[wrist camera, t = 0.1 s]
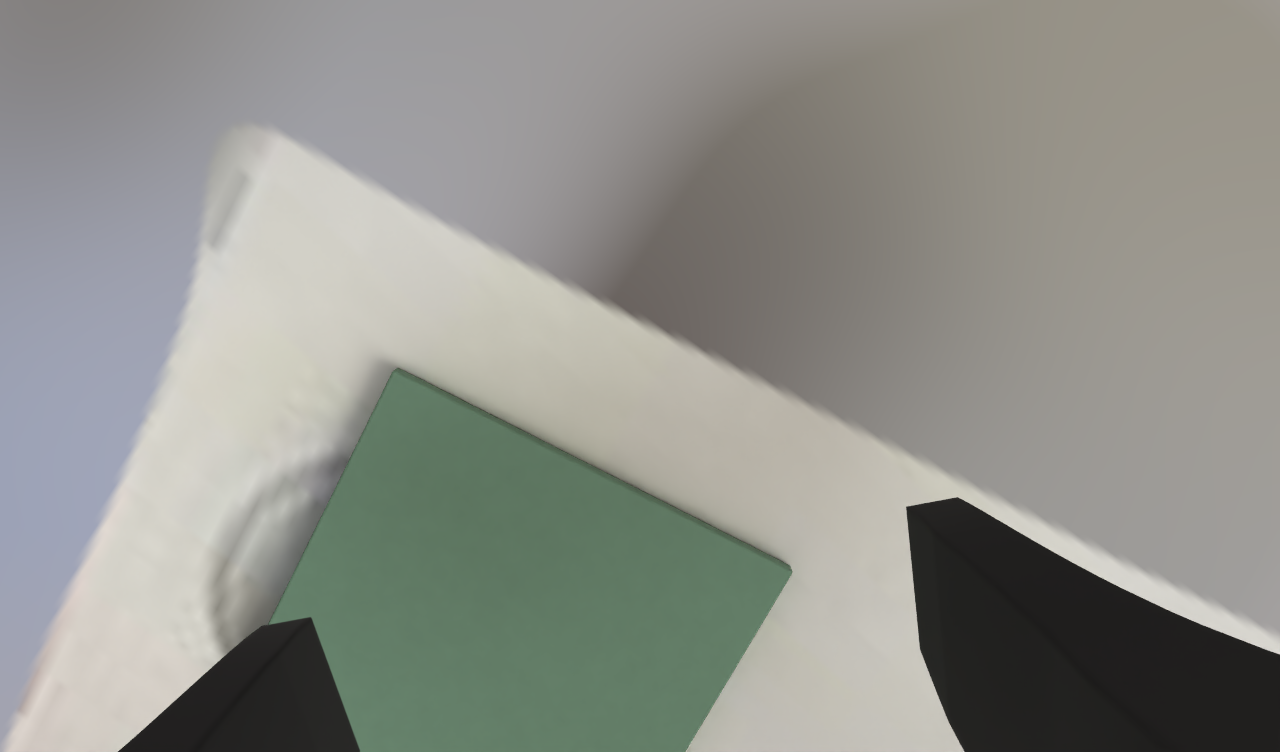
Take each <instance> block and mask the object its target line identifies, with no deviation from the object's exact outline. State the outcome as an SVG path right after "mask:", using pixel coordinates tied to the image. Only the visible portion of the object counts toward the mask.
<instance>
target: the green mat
mask: <svg viewBox="0 0 1280 752" xmlns="http://www.w3.org/2000/svg"><path fill="white" fill-rule="evenodd" d="M791 574H792V570H791V567H790V566H789V565H788V564H786V563H784V562H782V561H780V560H778V559H776V558H774V557H772V556H770V555H768V554H766V553H764V552H762V551H760V550H758V549H756V548H754V547H752V546H750V545H748V544H746V543H744V542H742V541H740V540H738V539H736V538H734V537H732V536H730V535H728V534H726V533H724V532H722V531H720V530H718V529H716V528H714V527H712V526H710V525H708V524H706V523H704V522H702V521H700V520H698V519H696V518H694V517H692V516H690V515H688V514H687V513H685V512H683V511H681V510H679V509H677V508H675V507H673V506H671V505H669V504H667V503H665V502H663V501H661V500H659V499H657V498H655V497H653V496H651V495H649V494H647V493H645V492H643V491H641V490H639V489H637V488H635V487H633V486H631V485H629V484H627V483H625V482H623V481H621V480H619V479H617V478H615V477H613V476H611V475H609V474H607V473H605V472H603V471H601V470H599V469H597V468H595V467H593V466H591V465H589V464H587V463H585V462H583V461H581V460H580V459H578V458H576V457H574V456H572V455H570V454H568V453H566V452H564V451H562V450H560V449H558V448H556V447H554V446H552V445H550V444H548V443H546V442H544V441H542V440H540V439H538V438H536V437H534V436H532V435H530V434H528V433H526V432H524V431H522V430H520V429H518V428H516V427H514V426H512V425H510V424H508V423H506V422H504V421H502V420H500V419H498V418H496V417H494V416H492V415H490V414H488V413H486V412H484V411H482V410H480V409H478V408H476V407H474V406H473V405H471V404H469V403H467V402H465V401H463V400H461V399H459V398H457V397H455V396H453V395H451V394H449V393H447V392H445V391H443V390H441V389H439V388H437V387H435V386H433V385H431V384H429V383H427V382H425V381H423V380H421V379H419V378H417V377H415V376H413V375H411V374H409V373H407V372H405V371H403V370H401V369H399V368H396V369H395V370H394V371H393V372H392V374H391V376H390V378H389V380H388V382H387V384H386V386H385V388H384V390H383V392H382V394H381V396H380V398H379V400H378V402H377V404H376V406H375V409H374V411H373V413H372V415H371V417H370V419H369V421H368V423H367V425H366V427H365V429H364V431H363V433H362V435H361V437H360V439H359V441H358V443H357V445H356V447H355V449H354V451H353V453H352V455H351V457H350V459H349V461H348V463H347V465H346V467H345V469H344V471H343V473H342V476H341V478H340V480H339V482H338V484H337V486H336V488H335V490H334V492H333V494H332V496H331V498H330V500H329V502H328V504H327V506H326V508H325V510H324V512H323V514H322V516H321V518H320V520H319V522H318V524H317V526H316V528H315V530H314V532H313V534H312V536H311V538H310V540H309V543H308V545H307V547H306V549H305V551H304V553H303V555H302V557H301V559H300V561H299V563H298V565H297V567H296V569H295V571H294V573H293V575H292V577H291V579H290V581H289V583H288V585H287V587H286V589H285V591H284V593H283V595H282V597H281V599H280V601H279V603H278V605H277V607H276V610H275V612H274V614H273V616H272V618H271V620H270V622H269V624H268V625H270V624H275V623H281V622H286V621H291V620H297V619H302V618H308V617H311V618H312V620H313V623H314V626H315V629H316V631H317V634H318V637H319V640H320V642H321V645H322V648H323V650H324V653H325V656H326V659H327V661H328V664H329V667H330V670H331V672H332V675H333V678H334V681H335V683H336V686H337V689H338V692H339V694H340V697H341V700H342V703H343V705H344V708H345V711H346V713H347V716H348V719H349V722H350V724H351V727H352V730H353V733H354V735H355V738H356V741H357V744H358V746H359V749H360V752H685V751H686V750H687V748H688V746H689V745H690V743H691V741H692V740H693V738H694V736H695V735H696V733H697V731H698V730H699V728H700V726H701V725H702V723H703V721H704V720H705V718H706V716H707V715H708V713H709V711H710V710H711V708H712V706H713V705H714V703H715V701H716V700H717V698H718V696H719V695H720V693H721V691H722V690H723V688H724V686H725V685H726V683H727V681H728V680H729V678H730V676H731V675H732V673H733V671H734V670H735V668H736V666H737V665H738V663H739V661H740V659H741V658H742V656H743V654H744V653H745V651H746V649H747V648H748V646H749V644H750V643H751V641H752V639H753V638H754V636H755V634H756V633H757V631H758V629H759V628H760V626H761V624H762V623H763V621H764V619H765V618H766V616H767V614H768V613H769V611H770V609H771V608H772V606H773V604H774V603H775V601H776V599H777V598H778V596H779V594H780V593H781V591H782V589H783V588H784V586H785V584H786V583H787V581H788V579H789V578H790V576H791Z"/></svg>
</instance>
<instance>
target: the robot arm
mask: <svg viewBox="0 0 1280 752" xmlns="http://www.w3.org/2000/svg"><path fill="white" fill-rule="evenodd" d="M906 510H907V520H908V530H909V540H910V551H911V561H912V571H913V581H914V592H915V602H916V612H917V622H918V633H919V643H920V650H921V653H922V655H923V658H924V660H925V663H926V666H927V668H928V671H929V673H930V676H931V679H932V681H933V684H934V686H935V689H936V692H937V694H938V696H939V699H940V701H941V704H942V706H943V709H944V711H945V714H946V716H947V719H948V721H949V723H950V725H951V727H952V729H953V731H954V733H955V735H956V736H957V738H958V740H959V742H960V744H961V746H962V748H963V749H964V751H965V752H1280V655H1279V654H1277V653H1274V652H1271V651H1268V650H1265V649H1262V648H1260V647H1257V646H1255V645H1252V644H1250V643H1247V642H1244V641H1242V640H1239V639H1237V638H1234V637H1231V636H1229V635H1226V634H1224V633H1221V632H1219V631H1216V630H1213V629H1211V628H1208V627H1206V626H1203V625H1201V624H1198V623H1196V622H1194V621H1191V620H1189V619H1187V618H1184V617H1182V616H1180V615H1177V614H1175V613H1173V612H1171V611H1168V610H1166V609H1164V608H1162V607H1160V606H1158V605H1156V604H1154V603H1151V602H1149V601H1147V600H1145V599H1143V598H1141V597H1139V596H1137V595H1135V594H1133V593H1130V592H1128V591H1126V590H1124V589H1122V588H1120V587H1118V586H1116V585H1114V584H1112V583H1110V582H1108V581H1106V580H1104V579H1102V578H1100V577H1098V576H1096V575H1094V574H1093V573H1091V572H1089V571H1087V570H1085V569H1083V568H1081V567H1079V566H1078V565H1076V564H1074V563H1072V562H1070V561H1068V560H1067V559H1065V558H1063V557H1061V556H1059V555H1058V554H1056V553H1054V552H1052V551H1050V550H1049V549H1047V548H1045V547H1043V546H1042V545H1040V544H1038V543H1036V542H1035V541H1033V540H1031V539H1029V538H1028V537H1026V536H1024V535H1023V534H1021V533H1019V532H1017V531H1016V530H1014V529H1012V528H1011V527H1009V526H1007V525H1005V524H1004V523H1002V522H1000V521H999V520H997V519H995V518H994V517H992V516H990V515H988V514H987V513H985V512H983V511H982V510H980V509H978V508H976V507H975V506H973V505H971V504H969V503H967V502H965V501H964V500H962V499H960V498H958V497H957V498H952V499H946V500H941V501H935V502H930V503H924V504H919V505H914V506H908V507H906ZM118 752H360V749H359V746H358V744H357V741H356V738H355V735H354V733H353V730H352V727H351V724H350V722H349V719H348V716H347V713H346V711H345V708H344V705H343V703H342V700H341V697H340V694H339V692H338V689H337V686H336V683H335V681H334V678H333V675H332V672H331V670H330V667H329V664H328V661H327V659H326V656H325V653H324V650H323V648H322V645H321V642H320V640H319V637H318V634H317V631H316V629H315V626H314V623H313V620H312V618H311V617H308V618H302V619H297V620H291V621H286V622H281V623H275V624H270V625H264V626H261V627H260V628H259V629H257V630H256V631H255V632H253V633H252V634H251V635H249V636H248V637H247V638H245V639H244V640H243V641H242V642H241V643H239V644H238V645H237V646H236V647H235V648H233V649H232V650H231V651H230V652H229V653H228V654H227V655H225V656H224V657H223V658H222V659H221V660H220V661H219V662H218V663H216V664H215V665H214V666H213V667H212V668H211V669H210V670H209V671H208V672H206V673H205V674H204V675H203V676H202V677H201V678H200V679H199V680H198V681H196V682H195V683H194V684H193V685H192V686H191V687H190V688H189V689H188V690H187V691H185V692H184V693H183V694H182V695H181V696H180V697H179V698H178V699H177V700H176V701H174V702H173V703H172V704H171V705H170V706H169V707H168V708H167V709H166V710H164V711H163V712H162V713H161V714H160V715H159V716H158V717H157V718H156V719H154V720H153V721H152V722H151V723H150V724H149V725H148V726H147V727H146V728H144V729H143V730H142V731H141V732H140V733H139V734H138V735H137V736H136V737H134V738H133V739H132V740H131V741H130V742H129V743H128V744H126V745H125V746H124V747H123V748H122V749H120V750H119V751H118Z"/></svg>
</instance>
